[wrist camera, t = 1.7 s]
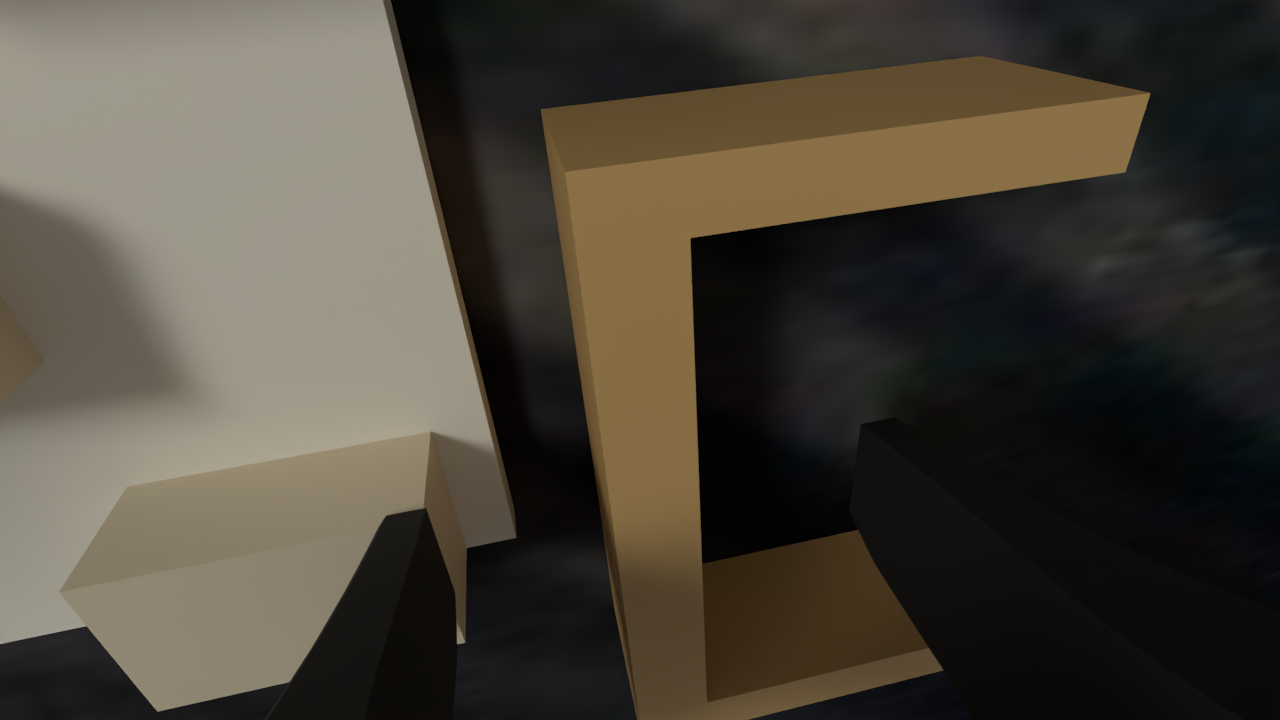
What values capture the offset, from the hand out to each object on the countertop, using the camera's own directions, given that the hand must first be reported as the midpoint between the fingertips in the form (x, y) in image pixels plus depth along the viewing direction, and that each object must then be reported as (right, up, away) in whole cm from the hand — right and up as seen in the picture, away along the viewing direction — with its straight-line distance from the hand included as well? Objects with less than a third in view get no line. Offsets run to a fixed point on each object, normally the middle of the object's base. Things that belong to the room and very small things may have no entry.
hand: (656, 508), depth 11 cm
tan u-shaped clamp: (+2, +2, +3) cm, 4 cm away
